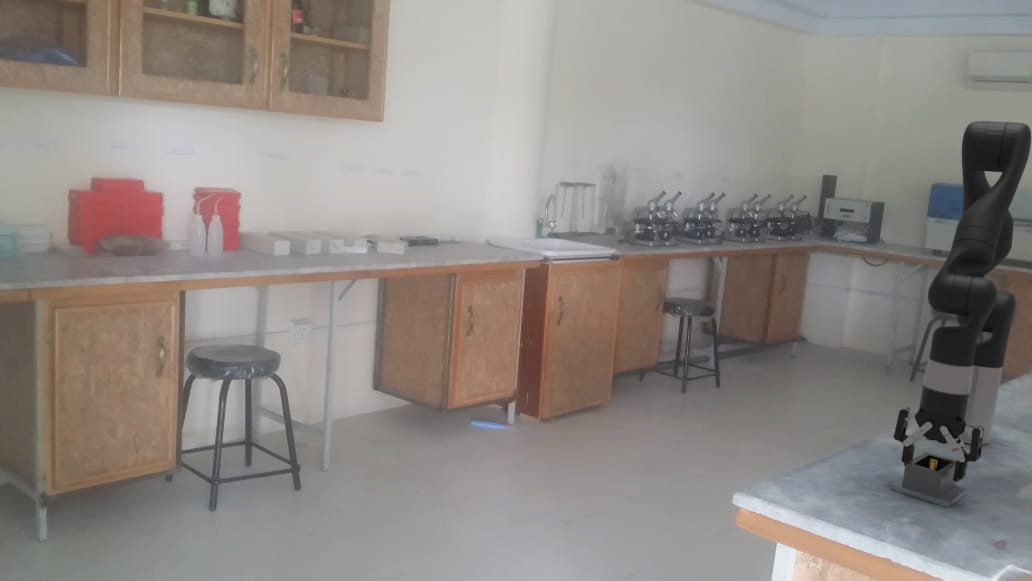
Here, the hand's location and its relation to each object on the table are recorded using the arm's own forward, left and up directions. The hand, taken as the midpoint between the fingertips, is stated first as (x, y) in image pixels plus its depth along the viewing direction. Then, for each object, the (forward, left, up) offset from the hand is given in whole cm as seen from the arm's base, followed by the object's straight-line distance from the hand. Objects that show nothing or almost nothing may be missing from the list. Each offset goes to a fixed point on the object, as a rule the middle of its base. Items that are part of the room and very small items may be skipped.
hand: (931, 472), depth 161 cm
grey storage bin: (0, 0, -3) cm, 3 cm away
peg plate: (0, 0, -4) cm, 4 cm away
